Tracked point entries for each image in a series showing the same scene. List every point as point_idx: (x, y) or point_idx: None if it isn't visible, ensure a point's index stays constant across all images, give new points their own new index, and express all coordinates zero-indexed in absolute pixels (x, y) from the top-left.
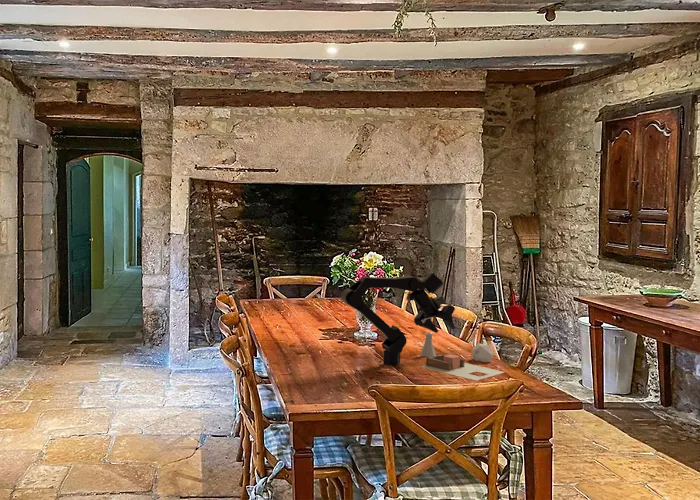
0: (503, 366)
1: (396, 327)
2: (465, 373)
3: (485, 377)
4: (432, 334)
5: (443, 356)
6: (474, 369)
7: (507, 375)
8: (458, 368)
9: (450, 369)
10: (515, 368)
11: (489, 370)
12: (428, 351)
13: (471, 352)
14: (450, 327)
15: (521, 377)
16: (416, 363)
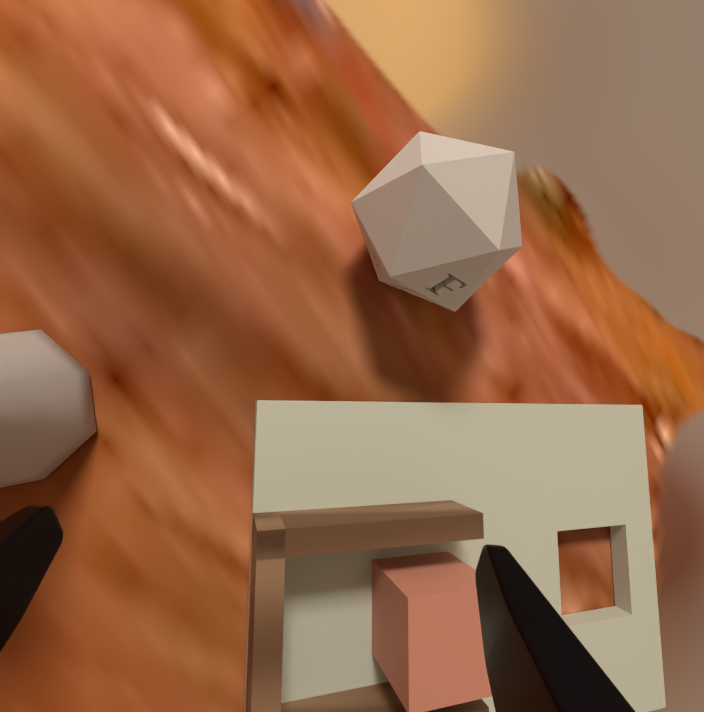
0: (522, 233)
1: None
2: None
3: (653, 601)
4: None
5: (293, 553)
6: (526, 502)
7: (632, 397)
8: None
9: None
10: (578, 230)
11: (583, 444)
12: (7, 458)
13: (392, 278)
14: (498, 686)
15: (681, 377)
16: (65, 668)
